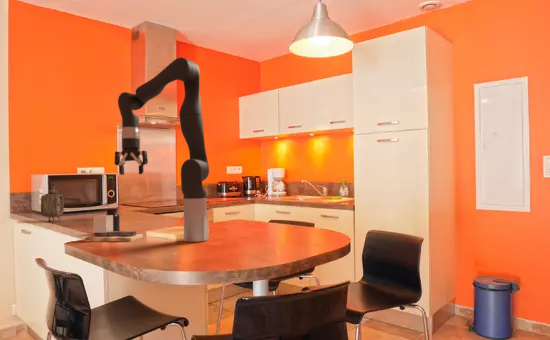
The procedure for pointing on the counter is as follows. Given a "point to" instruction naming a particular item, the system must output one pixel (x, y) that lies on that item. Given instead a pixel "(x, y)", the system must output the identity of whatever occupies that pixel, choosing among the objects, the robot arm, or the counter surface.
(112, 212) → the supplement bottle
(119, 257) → the counter surface
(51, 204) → the tabletop clock
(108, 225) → the grey block
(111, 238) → the ratchet board
